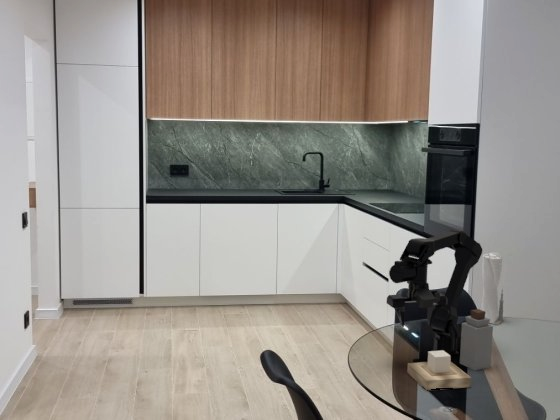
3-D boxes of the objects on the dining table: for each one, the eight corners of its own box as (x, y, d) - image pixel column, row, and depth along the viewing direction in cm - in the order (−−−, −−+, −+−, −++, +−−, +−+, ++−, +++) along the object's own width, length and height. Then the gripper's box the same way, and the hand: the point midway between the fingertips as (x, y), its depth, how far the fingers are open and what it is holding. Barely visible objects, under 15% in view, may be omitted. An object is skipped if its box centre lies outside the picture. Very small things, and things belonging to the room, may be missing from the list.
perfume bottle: (474, 370, 213) (477, 315, 211) (459, 363, 219) (462, 309, 217) (490, 367, 217) (493, 312, 214) (475, 360, 222) (478, 306, 220)
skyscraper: (497, 326, 258) (501, 254, 254) (476, 322, 262) (480, 251, 258) (503, 320, 265) (507, 250, 261) (482, 317, 269) (486, 248, 265)
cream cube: (442, 365, 208) (443, 350, 207) (450, 372, 203) (450, 356, 203) (427, 367, 207) (428, 351, 206) (434, 373, 202) (435, 357, 202)
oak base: (449, 369, 214) (449, 359, 213) (470, 387, 200) (470, 376, 200) (407, 372, 211) (407, 362, 211) (426, 390, 197) (426, 380, 197)
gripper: (400, 286, 207) (398, 335, 209) (456, 283, 211) (454, 331, 213) (386, 277, 218) (385, 324, 220) (440, 275, 222) (438, 321, 224)
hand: (415, 325), depth 219 cm, fingers open, 9 cm apart
